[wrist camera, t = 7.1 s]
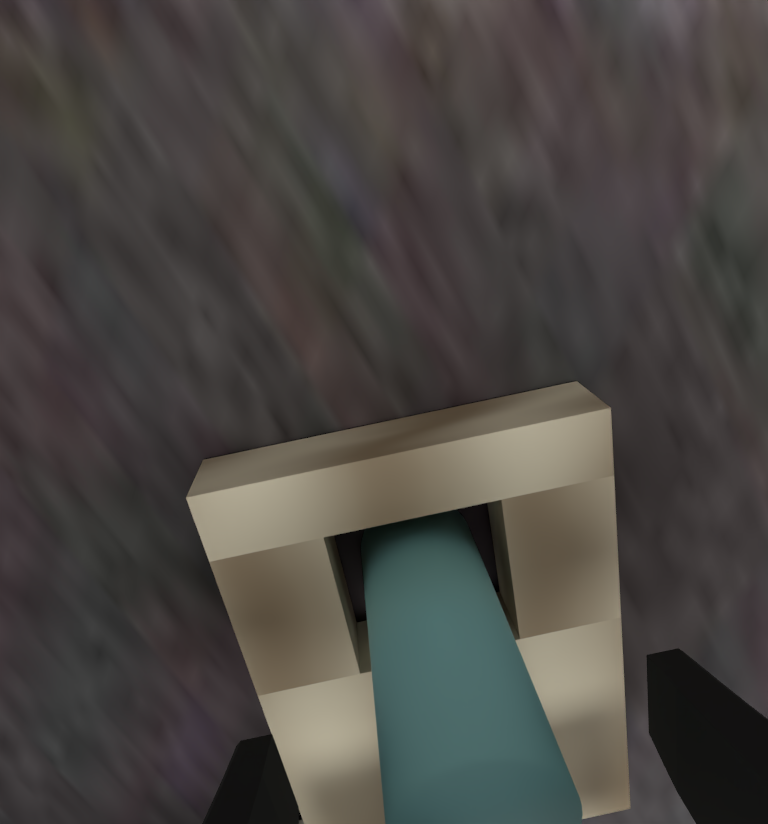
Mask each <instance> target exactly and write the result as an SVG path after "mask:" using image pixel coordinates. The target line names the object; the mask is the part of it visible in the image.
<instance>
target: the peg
mask: <svg viewBox="0 0 768 824" xmlns="http://www.w3.org/2000/svg"><path fill="white" fill-rule="evenodd" d="M361 559H362V570H363V581H364V593H365V604H366V615H367V626H368V637H369V648H370V659H371V671H372V682H373V693H374V704H375V715H376V726H377V737H378V748H379V760H380V771H381V782H382V793H383V804H384V815H385V824H582V816H583V812H582V804H581V800H580V797H579V794H578V792H577V790H576V787H575V785H574V782H573V780H572V777H571V775H570V772H569V770H568V768H567V765H566V763H565V760H564V758H563V755H562V753H561V751H560V748H559V746H558V743H557V741H556V738H555V736H554V733H553V731H552V729H551V726H550V724H549V721H548V719H547V716H546V714H545V712H544V709H543V707H542V704H541V702H540V699H539V697H538V694H537V692H536V690H535V687H534V685H533V682H532V680H531V677H530V675H529V672H528V670H527V668H526V665H525V663H524V660H523V658H522V655H521V653H520V651H519V648H518V646H517V643H516V641H515V638H514V636H513V633H512V631H511V629H510V626H509V624H508V621H507V619H506V616H505V614H504V612H503V609H502V607H501V604H500V602H499V599H498V597H497V594H496V592H495V590H494V587H493V585H492V582H491V580H490V577H489V575H488V572H487V570H486V568H485V565H484V563H483V560H482V558H481V555H480V553H479V551H478V548H477V546H476V543H475V541H474V538H473V536H472V533H471V531H470V529H469V526H468V524H467V522H466V520H465V519H464V517H463V516H462V515H461V514H460V512H459V511H458V510H456V509H455V510H450V511H446V512H441V513H436V514H432V515H427V516H422V517H418V518H413V519H408V520H404V521H399V522H394V523H389V524H385V525H380V526H375V527H371V528H366V529H365V531H364V533H363V536H362V540H361Z"/></svg>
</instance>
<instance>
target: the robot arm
mask: <svg viewBox="0 0 768 824" xmlns="http://www.w3.org/2000/svg"><path fill="white" fill-rule="evenodd" d="M647 682H648V716H649V734H650V736H651V738H652V740H653V742H654V744H655V747H656V749H657V751H658V753H659V755H660V757H661V759H662V762H663V764H664V766H665V768H666V770H667V772H668V774H669V776H670V778H671V780H672V782H673V784H674V786H675V788H676V790H677V792H678V794H679V796H680V797H681V799H682V801H683V802H684V804H685V806H686V807H687V809H688V811H689V812H690V814H691V816H692V817H693V819H694V821H695V822H696V824H768V719H767V718H765V717H764V716H763V715H762V714H760V713H759V712H758V711H756V710H755V709H754V708H752V707H751V706H750V705H749V704H747V703H746V702H745V701H744V700H742V699H741V698H740V697H739V696H737V695H736V694H735V693H734V692H732V691H731V690H730V689H729V688H727V687H726V686H725V685H724V684H722V683H721V682H720V681H719V680H717V679H716V678H715V677H714V676H712V675H711V674H710V673H709V672H708V671H706V670H705V669H704V668H703V667H701V666H700V665H699V664H698V663H697V662H695V661H694V660H693V659H692V658H690V657H689V656H688V655H687V654H686V653H684V652H683V651H681V650H680V649H673V650H669V651H664V652H659V653H655V654H650V655H647ZM203 824H299V807H298V804H297V801H296V798H295V796H294V793H293V790H292V787H291V785H290V782H289V779H288V776H287V774H286V771H285V768H284V765H283V762H282V760H281V757H280V754H279V751H278V749H277V746H276V743H275V740H274V738H273V735H272V734H271V735H266V736H261V737H257V738H252V739H247V740H242V741H240V742H239V744H238V745H237V746H236V749H235V751H234V753H233V756H232V758H231V761H230V763H229V765H228V768H227V770H226V772H225V775H224V777H223V779H222V782H221V784H220V786H219V788H218V791H217V793H216V795H215V797H214V800H213V802H212V804H211V806H210V808H209V811H208V813H207V815H206V817H205V819H204V821H203Z"/></svg>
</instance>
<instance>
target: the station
mask: <svg viewBox="0 0 768 824" xmlns="http://www.w3.org/2000/svg"><path fill="white" fill-rule="evenodd" d="M186 499H187V502H188V505H189V507H190V510H191V513H192V516H193V519H194V521H195V524H196V527H197V530H198V532H199V535H200V538H201V541H202V543H203V546H204V549H205V552H206V554H207V557H208V560H209V563H210V565H211V568H212V571H213V574H214V576H215V579H216V582H217V585H218V587H219V590H220V593H221V596H222V599H223V601H224V604H225V607H226V610H227V612H228V615H229V618H230V621H231V623H232V626H233V629H234V632H235V634H236V637H237V640H238V643H239V645H240V648H241V651H242V654H243V656H244V659H245V662H246V665H247V667H248V670H249V673H250V676H251V678H252V681H253V684H254V687H255V690H256V692H257V695H258V698H259V701H260V703H261V706H262V709H263V712H264V714H265V717H266V720H267V723H268V725H269V728H270V731H271V734H272V735H273V738H274V740H275V743H276V746H277V749H278V751H279V754H280V757H281V760H282V762H283V765H284V768H285V771H286V774H287V776H288V779H289V782H290V785H291V787H292V790H293V793H294V796H295V798H296V801H297V804H298V807H299V811H300V814H301V816H302V819H303V822H304V824H385V815H384V804H383V793H382V782H381V771H380V760H379V748H378V737H377V726H376V715H375V704H374V693H373V682H372V671H371V659H370V648H369V637H368V626H367V620H366V621H361V622H357V621H356V618H355V614H354V610H353V606H352V602H351V598H350V595H349V591H348V587H347V583H346V579H345V575H344V572H343V568H342V564H341V560H340V556H339V553H338V549H337V545H336V541H335V537H334V535H338V534H343V533H347V532H352V531H357V530H361V529H366V528H371V527H375V526H380V525H385V524H389V523H394V522H399V521H404V520H408V519H413V518H418V517H422V516H427V515H432V514H436V513H441V512H446V511H450V510H455V509H460V508H465V507H469V506H474V505H479V504H483V503H487V505H488V512H489V519H490V526H491V533H492V540H493V547H494V554H495V561H496V568H497V575H498V582H499V589H500V592H496V594H497V597H498V599H499V602H500V604H501V607H502V609H503V612H504V614H505V616H506V619H507V621H508V624H509V626H510V629H511V631H512V633H513V636H514V638H515V641H516V643H517V646H518V648H519V651H520V653H521V655H522V658H523V660H524V663H525V665H526V668H527V670H528V672H529V675H530V677H531V680H532V682H533V685H534V687H535V690H536V692H537V694H538V697H539V699H540V702H541V704H542V707H543V709H544V712H545V714H546V716H547V719H548V721H549V724H550V726H551V729H552V731H553V733H554V736H555V738H556V741H557V743H558V746H559V748H560V751H561V753H562V755H563V758H564V760H565V763H566V765H567V768H568V770H569V772H570V775H571V777H572V780H573V782H574V785H575V787H576V790H577V792H578V794H579V797H580V800H581V804H582V812H583V816H582V819H585V818H590V817H594V816H599V815H603V814H608V813H612V812H617V811H621V810H626V809H630V792H629V771H628V751H627V730H626V710H625V689H624V668H623V648H622V627H621V607H620V586H619V566H618V545H617V525H616V504H615V483H614V463H613V442H612V422H611V408H610V407H609V406H608V405H607V404H605V403H604V402H603V401H601V400H600V399H599V398H598V397H596V396H595V395H594V394H593V393H591V392H590V391H589V390H588V389H586V388H585V387H584V386H582V385H581V384H580V383H579V382H577V381H575V382H570V383H566V384H561V385H556V386H551V387H547V388H542V389H537V390H532V391H528V392H523V393H518V394H513V395H509V396H504V397H499V398H494V399H490V400H485V401H480V402H475V403H471V404H466V405H461V406H456V407H452V408H447V409H442V410H437V411H433V412H428V413H423V414H418V415H414V416H409V417H404V418H399V419H395V420H390V421H385V422H380V423H376V424H371V425H366V426H361V427H357V428H352V429H347V430H342V431H338V432H333V433H328V434H323V435H319V436H314V437H309V438H304V439H300V440H295V441H290V442H285V443H281V444H276V445H271V446H267V447H262V448H257V449H252V450H248V451H243V452H238V453H233V454H229V455H224V456H219V457H214V458H210V459H205V460H203V461H202V464H201V466H200V468H199V470H198V472H197V475H196V477H195V479H194V481H193V483H192V486H191V488H190V490H189V492H188V494H187V497H186Z"/></svg>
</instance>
